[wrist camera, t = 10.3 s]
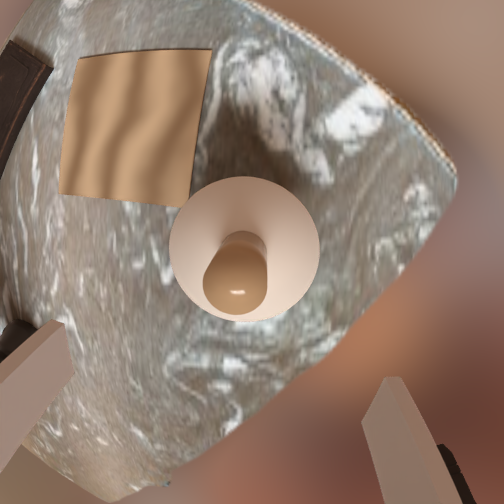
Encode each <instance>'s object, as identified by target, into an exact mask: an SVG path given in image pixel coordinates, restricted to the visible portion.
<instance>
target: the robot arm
mask: <svg viewBox="0 0 504 504" xmlns="http://www.w3.org/2000/svg"><path fill="white" fill-rule="evenodd" d="M74 374H75V373H74V369H73V365H72V360H71V356H70V351H69V346H68V341H67V336H66V331H65V325H64V323H61V322H58V321H55V320H52V319H51V320H49V321H48V322H47V323H46V324H45V325H43V326H42V327H41V328H40V329H39V330H37V329H35V328H34V327H33V326H32V325H30V324H29V323H27V322H25V321H22V320H14V321H12V322H11V323H9V324H8V325H7V326H6V327H5V328H4V330H3V332H2V335H1V336H0V472H2V470H3V469H4V467H5V466H6V464H7V463H8V461H9V460H10V458H11V457H12V456H13V454H14V453H15V451H16V450H17V448H18V447H19V445H20V444H21V443H22V441H23V440H24V439H25V437H26V436H27V435H28V433H29V432H30V430H31V429H32V428H33V426H34V425H35V424H36V422H37V421H38V420H39V418H40V417H41V416H42V414H43V413H44V412H45V410H46V409H47V408H48V407H49V405H50V404H51V403H52V401H53V400H54V399H55V397H56V396H57V395H58V394H59V392H60V391H61V390H62V389H63V387H64V386H65V385H66V384H67V382H68V381H69V380H70V379H71V377H72V376H73V375H74ZM361 423H362V426H363V429H364V432H365V436H366V439H367V442H368V446H369V449H370V452H371V456H372V459H373V463H374V466H375V469H376V473H377V476H378V480H379V484H380V487H381V491H382V495H383V498H384V502H385V504H476V502H475V500H474V498H473V496H472V494H471V492H470V489H469V487H468V485H467V483H466V481H465V479H464V476H463V474H462V473H460V471H461V470H460V468H459V466H458V465H457V462H456V460H455V458H454V456H453V454H452V452H451V451H450V450H449V449H448V448H447V447H445V445H444V444H440V445H436V444H435V442H434V440H433V438H432V436H431V434H430V432H429V430H428V428H427V426H426V424H425V422H424V420H423V418H422V417H421V414H420V413H419V411H418V409H417V407H416V405H415V403H414V401H413V399H412V397H411V395H410V393H409V392H408V390H407V388H406V386H405V384H404V383H403V381H402V379H401V377H385V378H384V380H383V382H382V384H381V386H380V388H379V390H378V392H377V394H376V396H375V398H374V400H373V402H372V404H371V405H370V407H369V409H368V411H367V413H366V415H365V416H364V418H363V420H362V422H361Z"/></svg>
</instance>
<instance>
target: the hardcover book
mask: <svg viewBox="0 0 504 504" xmlns="http://www.w3.org/2000/svg"><path fill="white" fill-rule="evenodd" d="M53 69H54V68H51V67H49V66H47V65H46V64H44V63H43V62H41V61H40V60H38V59H37V58H36V57H34V56H33V55H31V54H30V53H28V52H27V51H26V50H24V49H23V48H21V47H20V46H18V45H17V44H15V43H14V42H13V41H11V40H9V42H8V44H7V45H6V47H5V49H4V50H3V52H2V54H1V56H0V179H1V176H2V174H3V171H4V168H5V165H6V163H7V160H8V158H9V155H10V153H11V150H12V148H13V145H14V143H15V141H16V139H17V136H18V134H19V132H20V130H21V128H22V125H23V123H24V121H25V119H26V117H27V115H28V113H29V111H30V109H31V107H32V106H33V104H34V102H35V100H36V98H37V96H38V95H39V93H40V91H41V89H42V88H43V86H44V84H45V82H46V81H47V79H48V77H49V76H50V74H51V73H52V71H53Z"/></svg>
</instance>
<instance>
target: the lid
mask: <svg viewBox="0 0 504 504" xmlns="http://www.w3.org/2000/svg"><path fill="white" fill-rule="evenodd" d="M169 255H170V261H171V266H172V269H173V272H174V275H175V277H176V279H177V281H178V283H179V285H180V286H181V288H182V289H183V291H184V292H185V293H186V294H187V296H188V297H189V298H190V299H191V300H192V301H193V302H194V303H196V304H197V305H198V306H199V307H201V308H202V309H204V310H205V311H207V312H209V313H211V314H213V315H215V316H217V317H220V318H223V319H227V320H232V321H239V322H254V321H260V320H265V319H268V318H272V317H274V316H276V315H279V314H281V313H282V312H284V311H286V310H288V309H289V308H290V307H292V306H293V305H294V304H296V303H297V302H298V301H299V300H300V299H301V298H302V296H303V295H304V294H305V293H306V291H307V290H308V288H309V287H310V285H311V283H312V281H313V279H314V277H315V274H316V271H317V267H318V263H319V255H320V252H319V239H318V234H317V230H316V227H315V224H314V222H313V220H312V218H311V216H310V214H309V213H308V211H307V210H306V208H305V207H304V206H303V204H302V203H301V202H300V201H299V200H298V199H297V198H296V197H295V196H294V195H293V194H292V193H290V192H289V191H288V190H286V189H285V188H283V187H282V186H280V185H278V184H276V183H274V182H271V181H268V180H265V179H262V178H257V177H247V176H240V177H231V178H226V179H222V180H219V181H216V182H213V183H211V184H209V185H207V186H205V187H203V188H202V189H200V190H199V191H198V192H196V193H195V194H194V195H193V196H192V197H191V198H190V199H189V200H188V201H187V202H186V203H185V204H184V206H183V207H182V208H181V210H180V211H179V213H178V215H177V217H176V219H175V221H174V224H173V226H172V230H171V234H170V242H169Z"/></svg>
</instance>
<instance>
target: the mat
mask: <svg viewBox="0 0 504 504" xmlns="http://www.w3.org/2000/svg"><path fill="white" fill-rule="evenodd" d="M211 56H212V50H159V51H141V52H129V53H119V54H111V55H103V56H96V57H90V58H84V59H78V62H77V66H76V70H75V74H74V79H73V83H72V88H71V93H70V98H69V103H68V108H67V114H66V121H65V128H64V135H63V143H62V152H61V163H60V177H59V194H65V195H75V196H85V197H95V198H105V199H114V200H123V201H132V202H140V203H149V204H157V205H165V206H173V207H180V208H182V207H183V206H184V204H185V203H186V202H187V201H188V200H189V196H190V187H191V179H192V171H193V163H194V156H195V149H196V142H197V135H198V129H199V122H200V116H201V110H202V104H203V98H204V93H205V87H206V82H207V76H208V71H209V66H210V61H211Z"/></svg>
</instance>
